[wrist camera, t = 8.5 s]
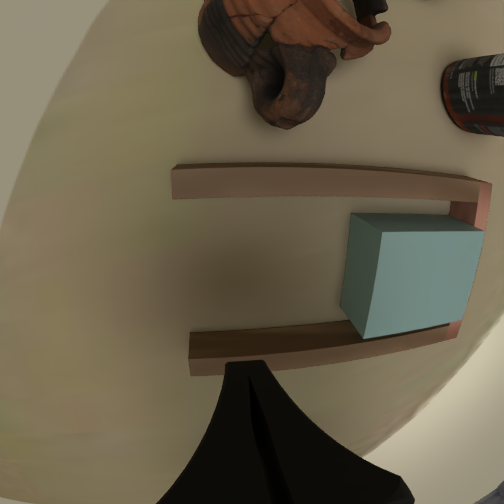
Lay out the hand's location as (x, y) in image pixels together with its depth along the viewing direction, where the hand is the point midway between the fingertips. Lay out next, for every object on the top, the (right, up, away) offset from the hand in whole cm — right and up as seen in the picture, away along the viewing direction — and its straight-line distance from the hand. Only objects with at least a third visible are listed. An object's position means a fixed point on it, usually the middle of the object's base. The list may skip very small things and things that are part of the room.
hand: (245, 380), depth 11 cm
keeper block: (+11, +4, +11) cm, 17 cm away
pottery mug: (+2, +17, +5) cm, 18 cm away
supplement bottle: (+17, +17, +7) cm, 25 cm away
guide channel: (+6, +4, +10) cm, 13 cm away
